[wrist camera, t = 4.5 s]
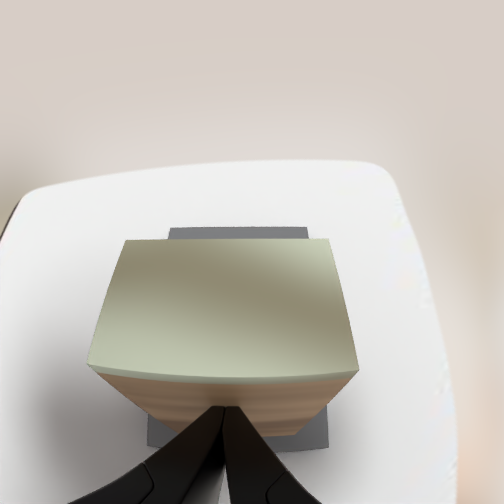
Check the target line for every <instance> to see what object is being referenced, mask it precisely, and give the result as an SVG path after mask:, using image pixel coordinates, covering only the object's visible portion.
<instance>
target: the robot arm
mask: <svg viewBox="0 0 504 504" xmlns="http://www.w3.org/2000/svg"><path fill="white" fill-rule="evenodd" d="M143 463H144V464H143ZM143 463H140V464H139V465H137V466H136V467H135V468H133V469H132V470H130V471H129V472H127V473H126V474H124V475H123V476H121V477H120V478H118V479H117V480H115V481H113V482H111V483H109V484H108V485H106V486H104V487H102V488H100V489H98V490H96V491H94V492H92V493H90V494H88V495H86V496H83V497H81V498H79V499H77V500H75V501H72V502H70V503H68V504H218V500H219V495H220V490H221V486H222V481H223V477H224V472H225V466H226V474H227V481H228V489H229V496H230V502H231V504H322V503H321V502H319V501H318V500H317V499H316V498H315V497H314V496H312V495H311V494H310V493H309V492H308V491H307V490H306V489H305V488H304V487H303V486H302V485H301V484H300V483H299V482H298V481H297V480H296V478H295V477H294V476H293V475H292V474H291V472H290V471H288V470H287V468H286V467H285V466H284V465H283V463H282V462H281V461H280V460H279V458H278V457H277V456H276V455H275V453H274V452H273V451H272V449H271V448H270V447H269V446H268V444H267V443H266V442H265V440H264V439H263V438H262V436H261V435H260V434H259V432H258V431H257V430H256V428H255V427H254V426H253V424H252V423H251V422H250V420H249V419H248V417H247V416H246V415H245V413H244V412H243V410H242V409H241V408H240V407H239V406H227V407H226V408H225V407H224V406H211V407H210V408H208V409H207V410H206V411H205V412H204V413H203V414H202V415H200V416H199V417H198V418H197V419H196V420H195V421H193V422H192V423H191V424H190V425H189V426H187V427H186V428H185V429H184V430H183V431H181V432H180V433H179V434H178V435H177V436H175V437H174V438H173V439H172V440H170V441H169V442H168V443H167V444H165V445H164V446H163V447H162V448H160V449H159V450H158V451H157V452H155V453H154V454H153V455H151V456H150V457H149V458H147V459H146V460H145V461H144V462H143Z"/></svg>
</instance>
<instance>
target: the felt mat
mask: <svg viewBox="0 0 504 504" xmlns="http://www.w3.org/2000/svg"><path fill="white" fill-rule="evenodd" d="M168 239H309V237H308V231H307V227H188V228H170V233H169V238H168ZM178 434H179V433H177V432H175V431H174V430H172V429H171V428H169V427H168V426H166V425H165V424H163V423H162V422H160V421H159V420H157V419H156V418H154V417H153V416H151V415H150V414H148V434H147V446H153V447H160V448H162V447H163V446H164V445H165V444H167V443H168V442H169V441H170V440H172V439H173V438H174V437H175V436H177V435H178ZM262 438H263V439H264V440H265V442H266V443H267V444H268V446H269V447H270V448H271V449H272V451H273V452H274V453H277V452H292V451H304V450H313V449H322V448H329V444H328V421H327V405H326V406H325V407H324V408H323V409H322V410H321V411H320V412H319V413H318V414H317V415H315V416H314V417H313V418H312V419H311V420H310V421H309V422H308V423H307V424H306V425H305V426H304V427H303V428H302V429H300V430H299V431H298V432H297V433H296V434H295V435H287V436H266V437H262Z"/></svg>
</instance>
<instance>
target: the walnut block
mask: <svg viewBox="0 0 504 504" xmlns="http://www.w3.org/2000/svg"><path fill="white" fill-rule="evenodd" d="M87 365H88V366H89V367H91V368H92V369H93V370H94V371H95V372H96V373H97V374H98V375H100V376H101V377H102V378H103V379H104V380H106V381H107V382H108V383H109V384H110V385H112V386H113V387H114V388H115V389H117V390H118V391H119V392H120V393H122V394H123V395H124V396H125V397H127V398H128V399H129V400H131V401H132V402H133V403H135V404H136V405H137V406H139V407H140V408H141V409H143V410H144V411H146V412H147V413H148V414H150V415H151V416H153V417H154V418H156V419H157V420H159V421H160V422H162V423H163V424H165V425H166V426H168V427H169V428H171V429H172V430H174V431H175V432H177V433H180V432H181V431H183V430H184V429H185V428H186V427H187V426H189V425H190V424H191V423H192V422H193V421H195V420H196V419H197V418H198V417H199V416H200V415H202V414H203V413H204V412H205V411H206V410H207V409H208V408H210V407H211V406H224V407H225V408H226V407H227V406H239V407H240V408H241V409H242V410H243V412H244V413H245V415H246V416H247V417H248V419H249V420H250V422H251V423H252V424H253V426H254V427H255V428H256V430H257V431H258V432H259V434H260V435H261V436H262V437H266V436H287V435H295V434H296V433H297V432H298V431H299V430H300V429H302V428H303V427H304V426H305V425H306V424H307V423H308V422H309V421H310V420H311V419H312V418H313V417H314V416H315V415H317V414H318V413H319V412H320V411H321V410H322V409H323V408H324V407H325V406H326V405H327V404H328V403H329V402H330V401H331V400H332V399H333V398H334V397H335V396H336V395H337V394H338V392H339V391H340V390H341V389H342V388H343V387H344V386H345V385H346V384H347V383H348V382H349V381H350V380H351V379H352V377H353V376H354V375H355V374H356V373H357V372H358V371H359V366H358V361H357V356H356V351H355V346H354V341H353V336H352V332H351V327H350V322H349V318H348V314H347V309H346V305H345V301H344V297H343V292H342V288H341V284H340V280H339V276H338V273H337V269H336V265H335V261H334V258H333V254H332V250H331V247H330V243H329V239H165V240H126V241H125V244H124V246H123V249H122V251H121V254H120V257H119V259H118V262H117V265H116V267H115V270H114V273H113V276H112V279H111V282H110V285H109V287H108V290H107V294H106V297H105V300H104V303H103V306H102V309H101V312H100V316H99V319H98V322H97V326H96V329H95V333H94V337H93V340H92V344H91V348H90V352H89V356H88V360H87Z"/></svg>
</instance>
